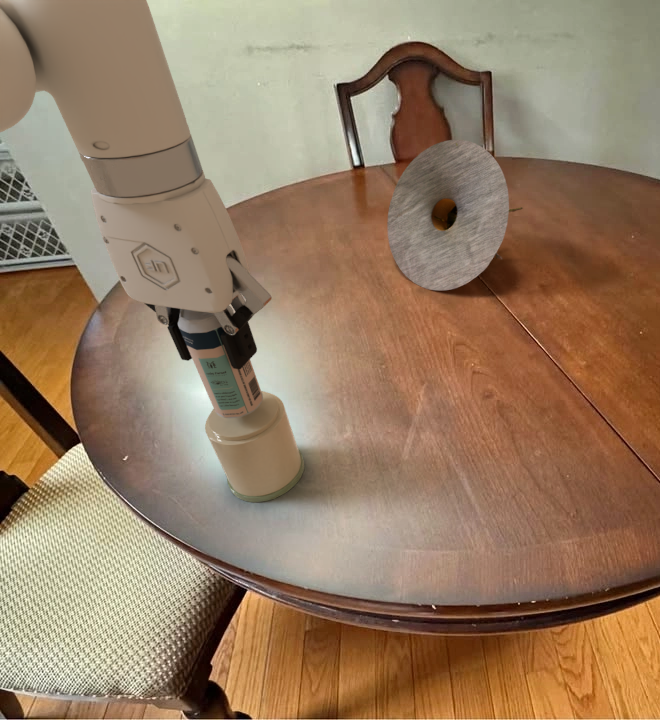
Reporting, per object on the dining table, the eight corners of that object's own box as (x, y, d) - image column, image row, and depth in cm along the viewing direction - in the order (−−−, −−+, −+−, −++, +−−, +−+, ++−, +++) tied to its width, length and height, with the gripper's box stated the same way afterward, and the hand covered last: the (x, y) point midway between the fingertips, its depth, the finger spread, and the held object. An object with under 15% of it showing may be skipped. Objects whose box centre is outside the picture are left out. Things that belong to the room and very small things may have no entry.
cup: (231, 512, 60) (202, 452, 54) (226, 458, 66) (199, 398, 60) (310, 487, 62) (290, 426, 56) (298, 437, 68) (279, 378, 62)
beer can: (253, 384, 60) (219, 288, 53) (271, 407, 57) (238, 309, 50) (209, 404, 58) (166, 307, 50) (226, 429, 55) (183, 330, 47)
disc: (523, 323, 99) (569, 191, 98) (467, 297, 84) (521, 142, 84) (423, 293, 113) (463, 178, 113) (361, 267, 99) (406, 134, 98)
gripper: (14, 176, 41) (118, 367, 52) (212, 195, 37) (278, 395, 49) (93, 144, 47) (171, 323, 58) (272, 158, 43) (318, 345, 54)
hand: (219, 354), depth 53 cm, fingers closed on beer can, 4 cm apart
